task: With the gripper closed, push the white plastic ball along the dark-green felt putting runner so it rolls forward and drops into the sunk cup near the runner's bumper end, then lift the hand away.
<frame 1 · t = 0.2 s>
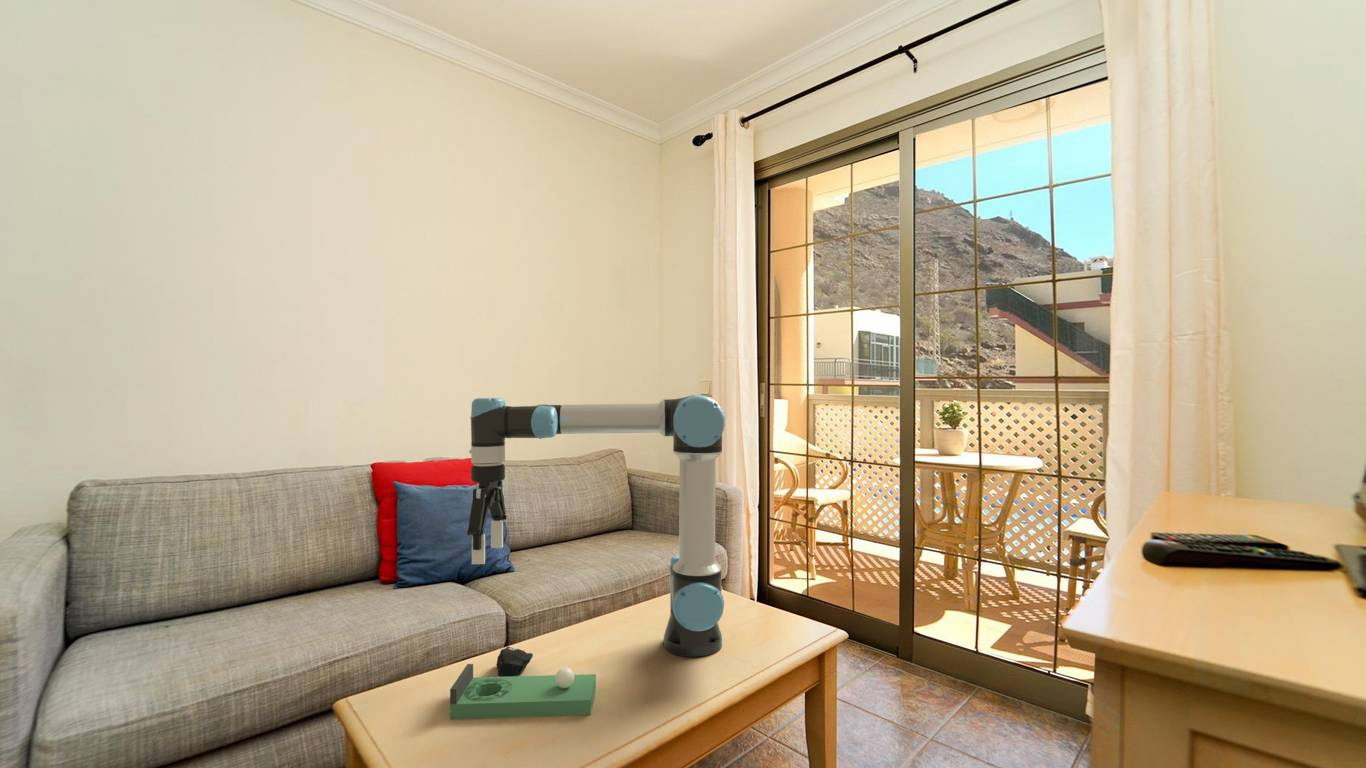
hand: (488, 555, 136), 28 cm above the table, fingers open, 13 cm apart
mineral: (515, 675, 137), on the table
ball: (564, 677, 124), point 5 cm above the table, touching green
green: (526, 702, 124), on the table
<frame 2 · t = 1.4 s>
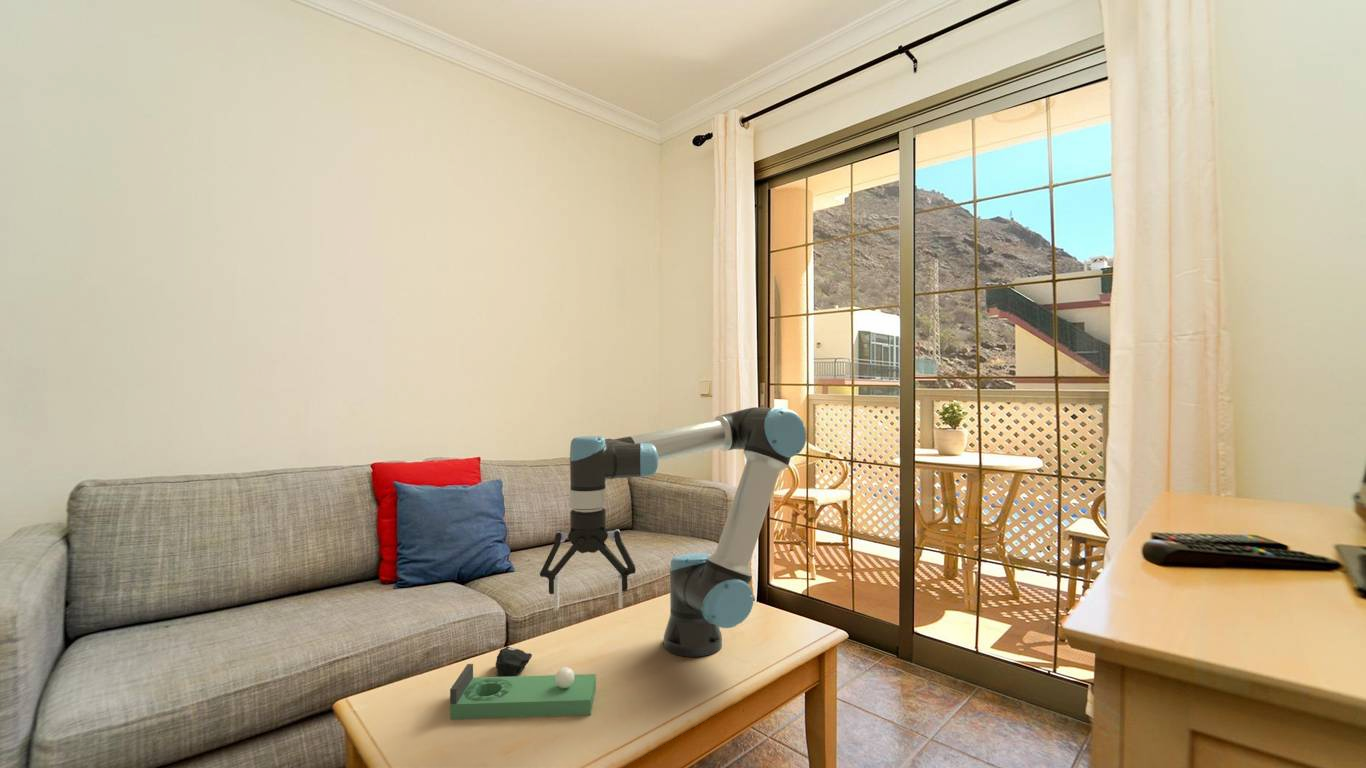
hand: (588, 607, 126), 19 cm above the table, fingers open, 13 cm apart
nothing on the table moved.
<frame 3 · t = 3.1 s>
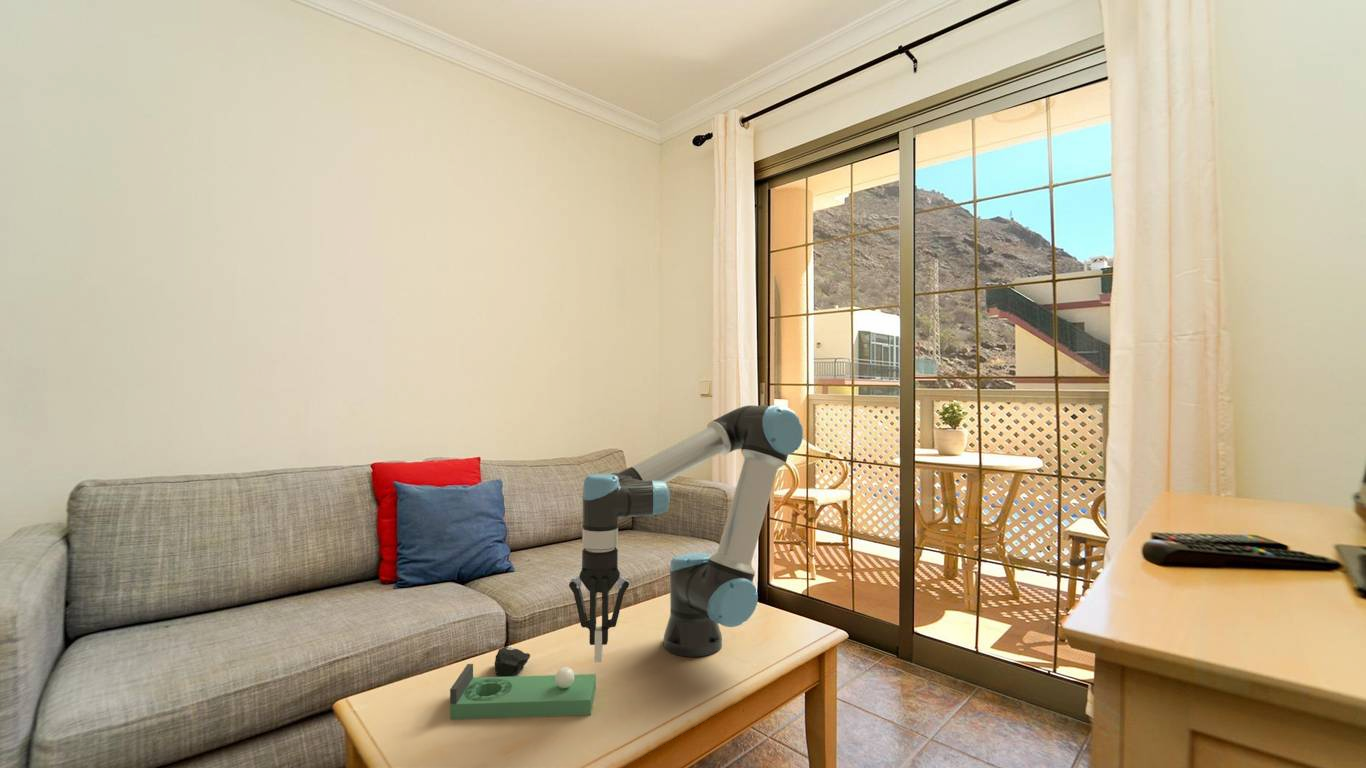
hand: (598, 659, 124), 9 cm above the table, fingers closed
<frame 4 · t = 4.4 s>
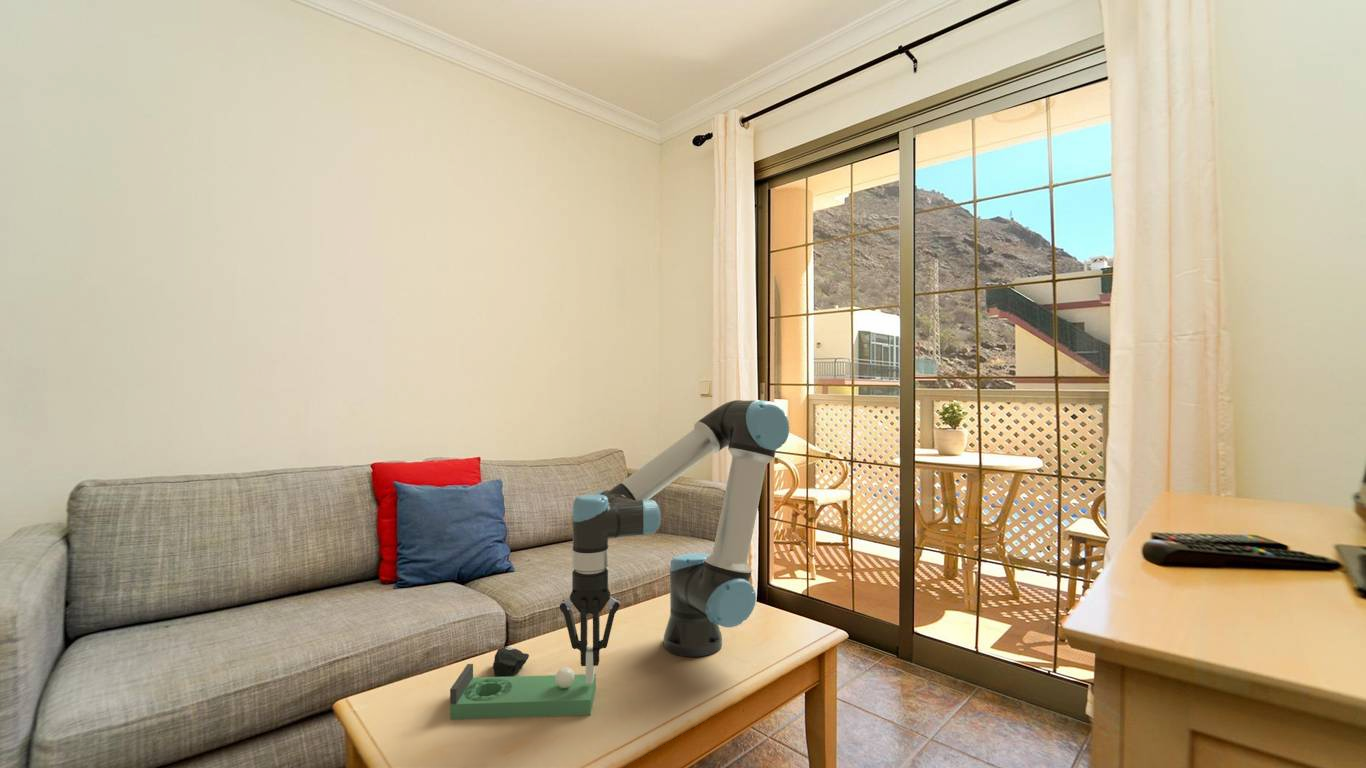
hand: (590, 680, 124), 4 cm above the table, fingers closed
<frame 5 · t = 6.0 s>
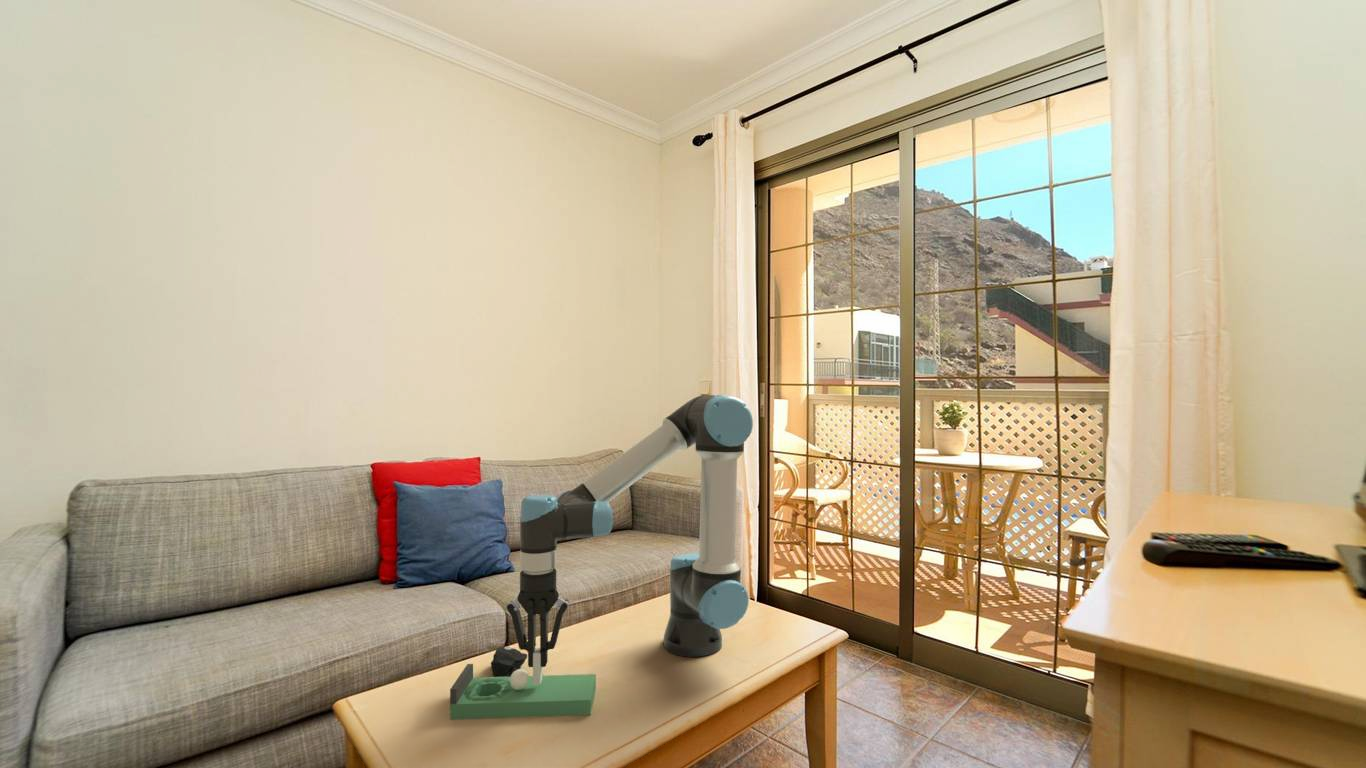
hand: (537, 681, 124), 4 cm above the table, fingers closed
ball: (519, 679, 123), point 5 cm above the table, tilted 93°, touching green
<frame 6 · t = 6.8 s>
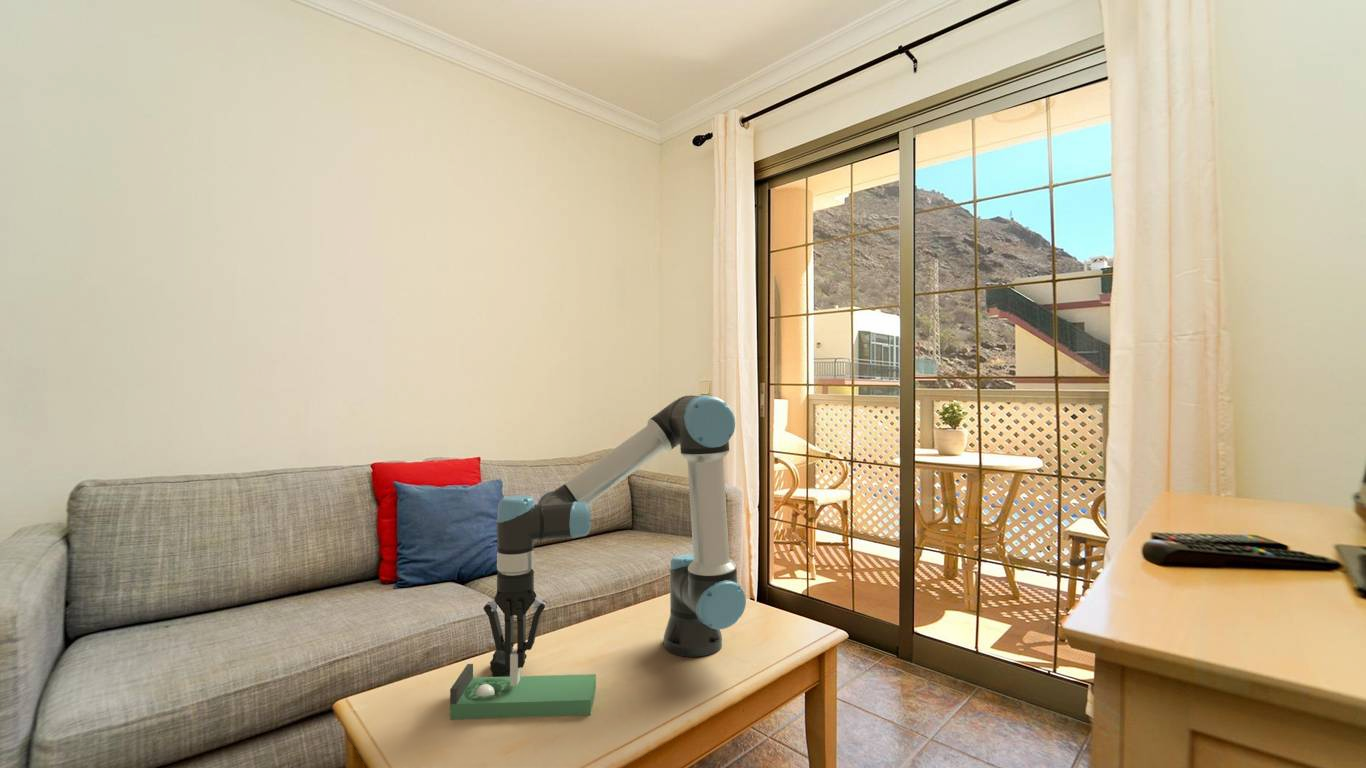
hand: (515, 682, 124), 4 cm above the table, fingers closed
ball: (484, 694, 123), point 2 cm above the table, tilted 146°
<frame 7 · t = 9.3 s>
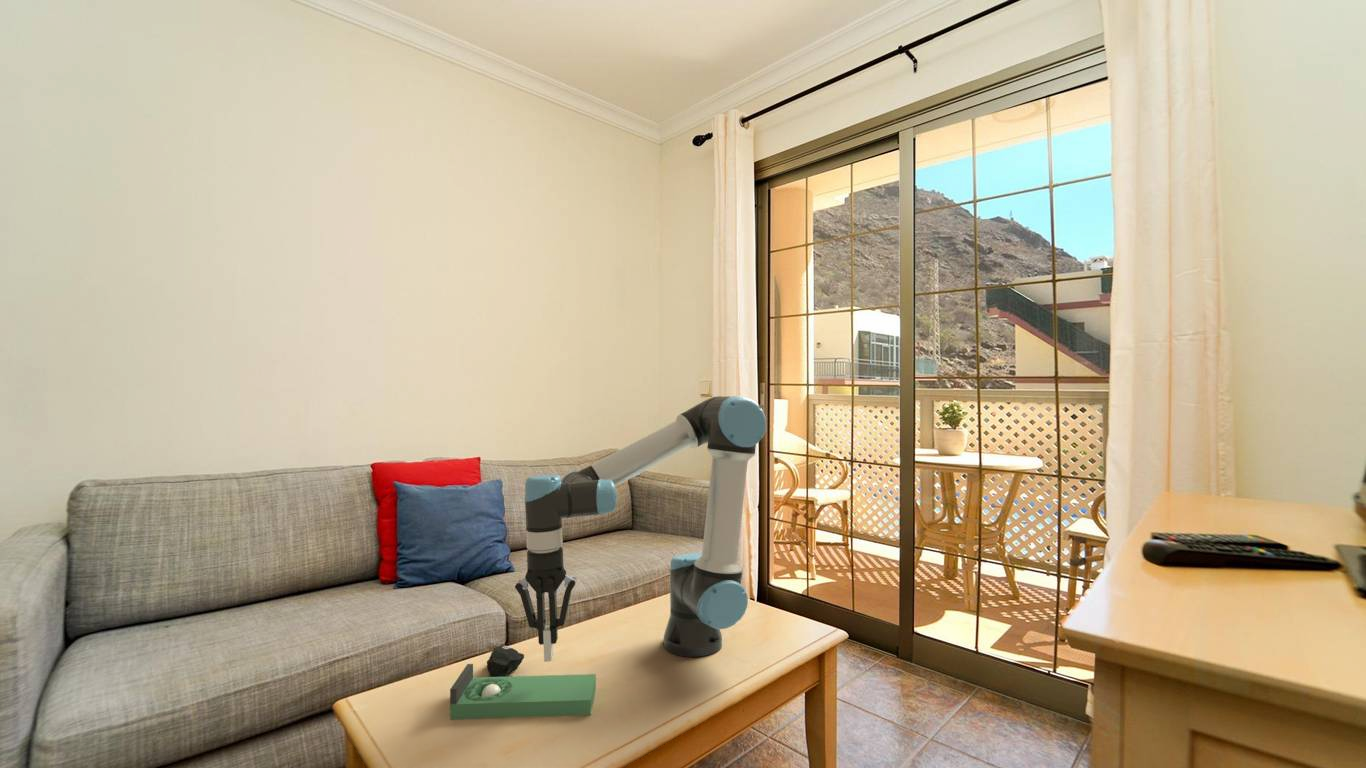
hand: (548, 658, 125), 9 cm above the table, fingers closed
ball: (491, 694, 123), point 2 cm above the table, tilted 108°
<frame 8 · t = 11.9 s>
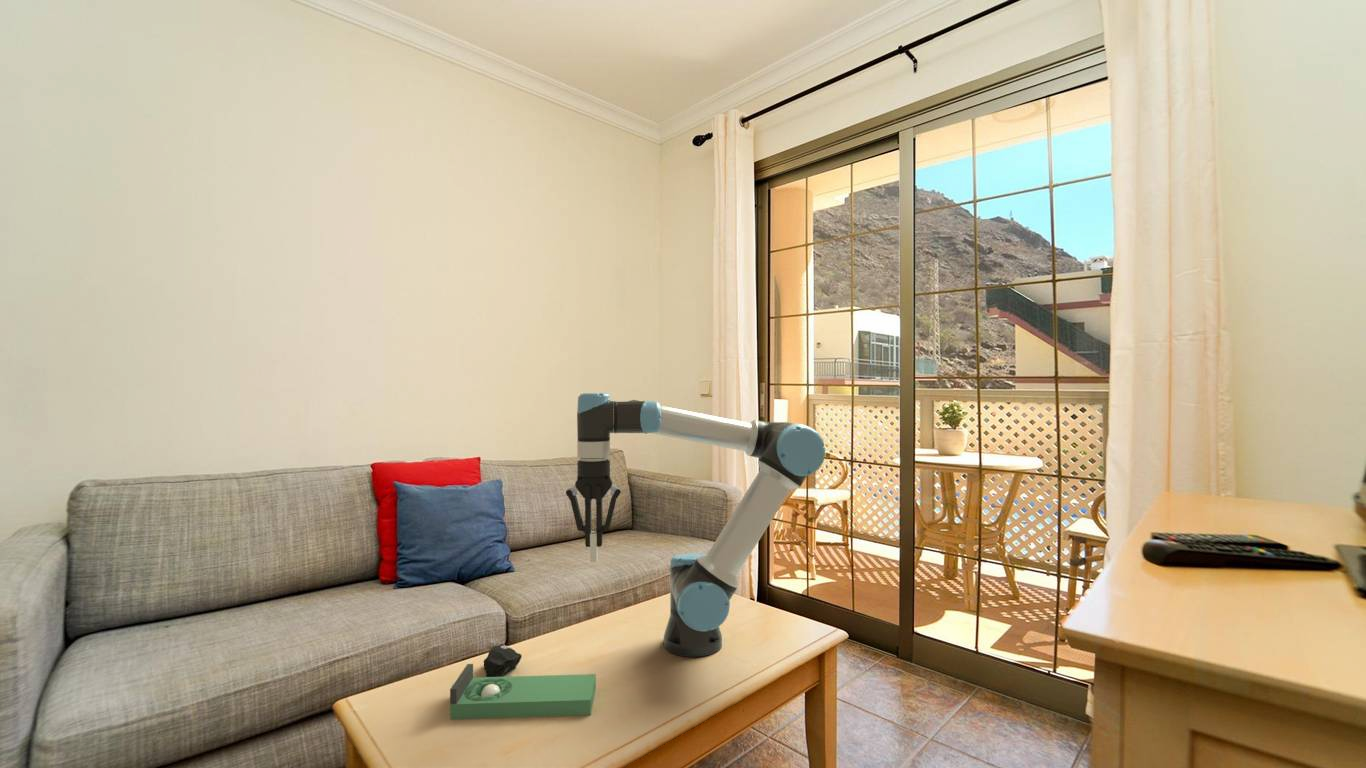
hand: (593, 560, 136), 26 cm above the table, fingers closed
at the end: ball 0.6 cm from the target spot on the green, point 2.0 cm above the green's base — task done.
